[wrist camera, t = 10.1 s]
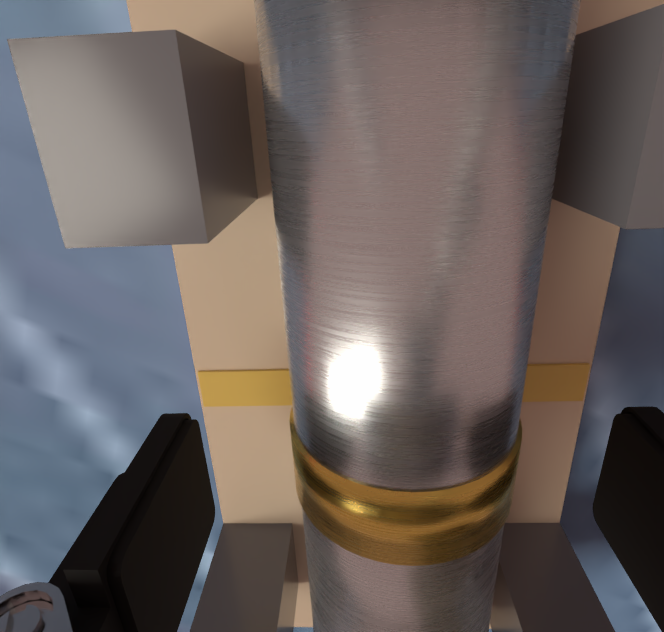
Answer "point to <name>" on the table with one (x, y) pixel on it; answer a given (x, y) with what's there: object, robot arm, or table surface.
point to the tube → (410, 285)
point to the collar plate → (264, 275)
